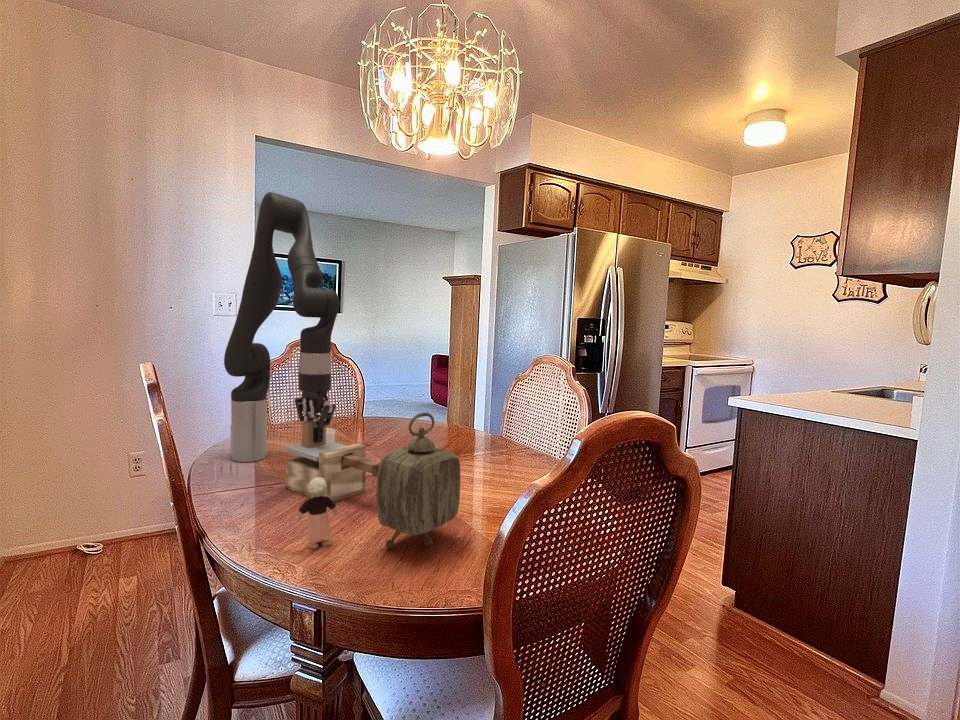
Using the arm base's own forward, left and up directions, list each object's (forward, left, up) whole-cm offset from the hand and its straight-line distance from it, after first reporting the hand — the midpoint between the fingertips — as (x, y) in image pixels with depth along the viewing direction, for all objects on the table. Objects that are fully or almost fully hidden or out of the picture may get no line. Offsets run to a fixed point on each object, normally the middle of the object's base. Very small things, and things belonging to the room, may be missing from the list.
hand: (313, 440), depth 125 cm
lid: (+3, 0, -2) cm, 3 cm away
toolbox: (+4, 0, -11) cm, 12 cm away
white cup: (-13, +11, -12) cm, 21 cm away
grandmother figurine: (+27, -19, -12) cm, 35 cm away
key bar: (+18, 0, -3) cm, 18 cm away
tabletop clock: (+41, -6, -12) cm, 43 cm away
